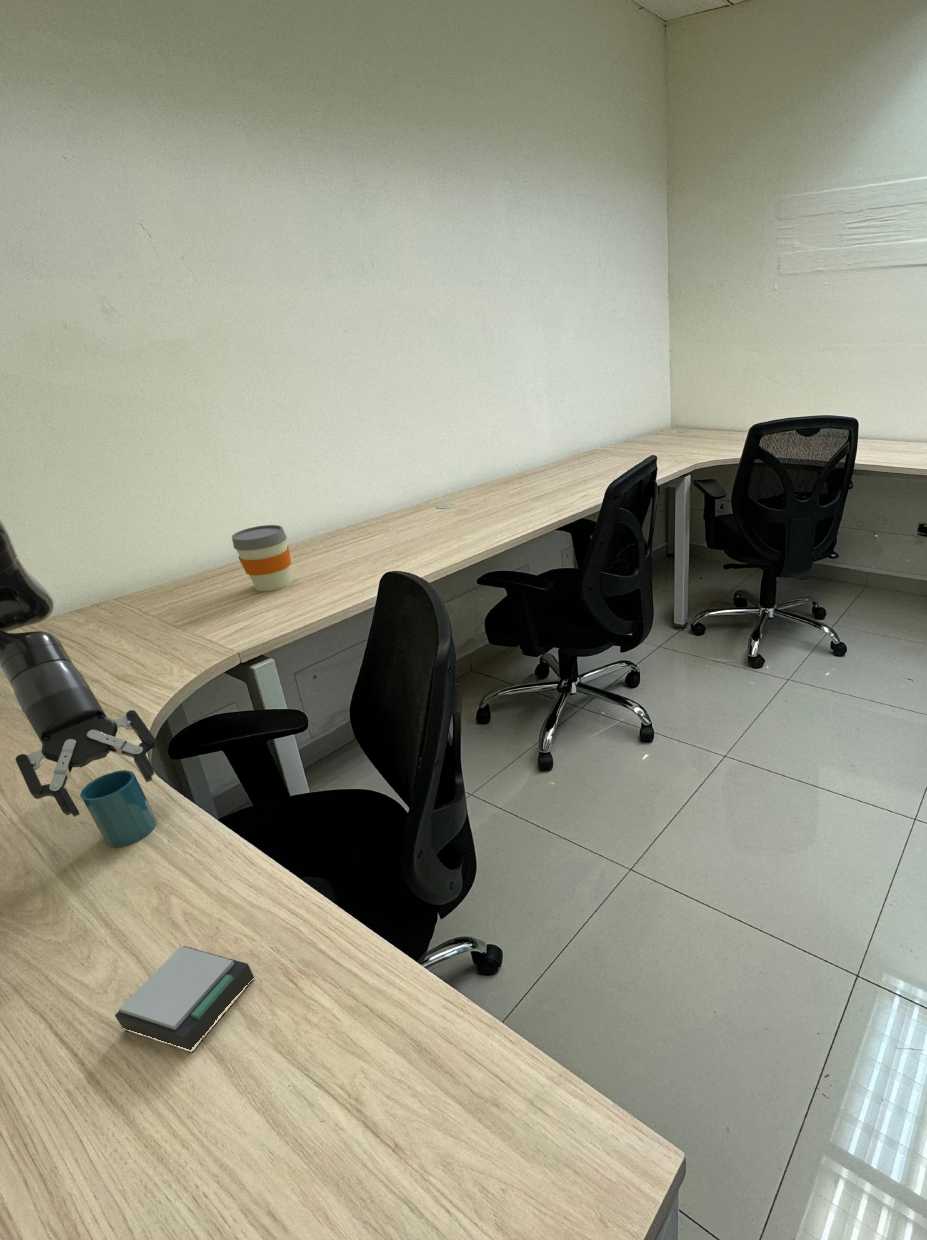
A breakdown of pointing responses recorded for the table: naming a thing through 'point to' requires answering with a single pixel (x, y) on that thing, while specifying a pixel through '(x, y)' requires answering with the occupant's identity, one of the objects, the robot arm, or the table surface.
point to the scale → (184, 997)
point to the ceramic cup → (119, 808)
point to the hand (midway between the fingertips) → (114, 796)
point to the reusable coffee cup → (264, 556)
